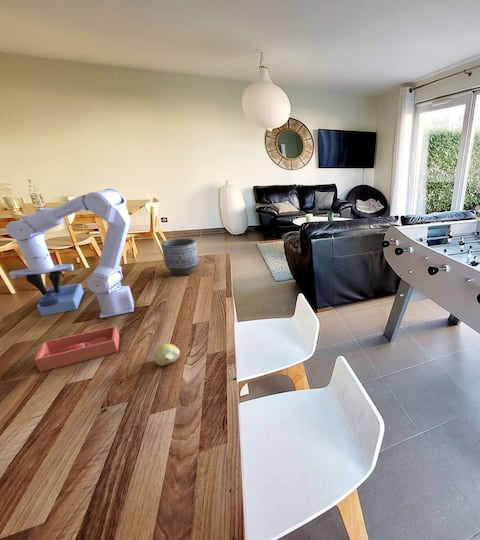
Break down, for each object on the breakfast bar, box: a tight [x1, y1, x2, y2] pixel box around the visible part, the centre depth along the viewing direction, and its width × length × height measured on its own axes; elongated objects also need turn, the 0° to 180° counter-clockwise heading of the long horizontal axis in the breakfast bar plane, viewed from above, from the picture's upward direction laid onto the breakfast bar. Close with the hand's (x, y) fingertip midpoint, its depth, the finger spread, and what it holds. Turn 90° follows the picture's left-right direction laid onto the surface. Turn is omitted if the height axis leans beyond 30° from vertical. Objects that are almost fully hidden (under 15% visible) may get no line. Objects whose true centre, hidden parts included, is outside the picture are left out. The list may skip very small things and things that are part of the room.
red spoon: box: [51, 337, 108, 355], centre depth 83 cm, size 12×4×3 cm, turn 125°
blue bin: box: [36, 283, 84, 317], centre depth 108 cm, size 16×9×4 cm, turn 35°
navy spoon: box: [37, 285, 59, 307], centre depth 97 cm, size 12×4×3 cm, turn 36°
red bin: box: [34, 325, 120, 373], centre depth 83 cm, size 16×9×4 cm, turn 125°
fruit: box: [153, 343, 181, 366], centre depth 82 cm, size 6×6×10 cm
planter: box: [160, 237, 200, 276], centre depth 138 cm, size 14×14×15 cm
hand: (51, 293), depth 98 cm, fingers closed on navy spoon, 2 cm apart
